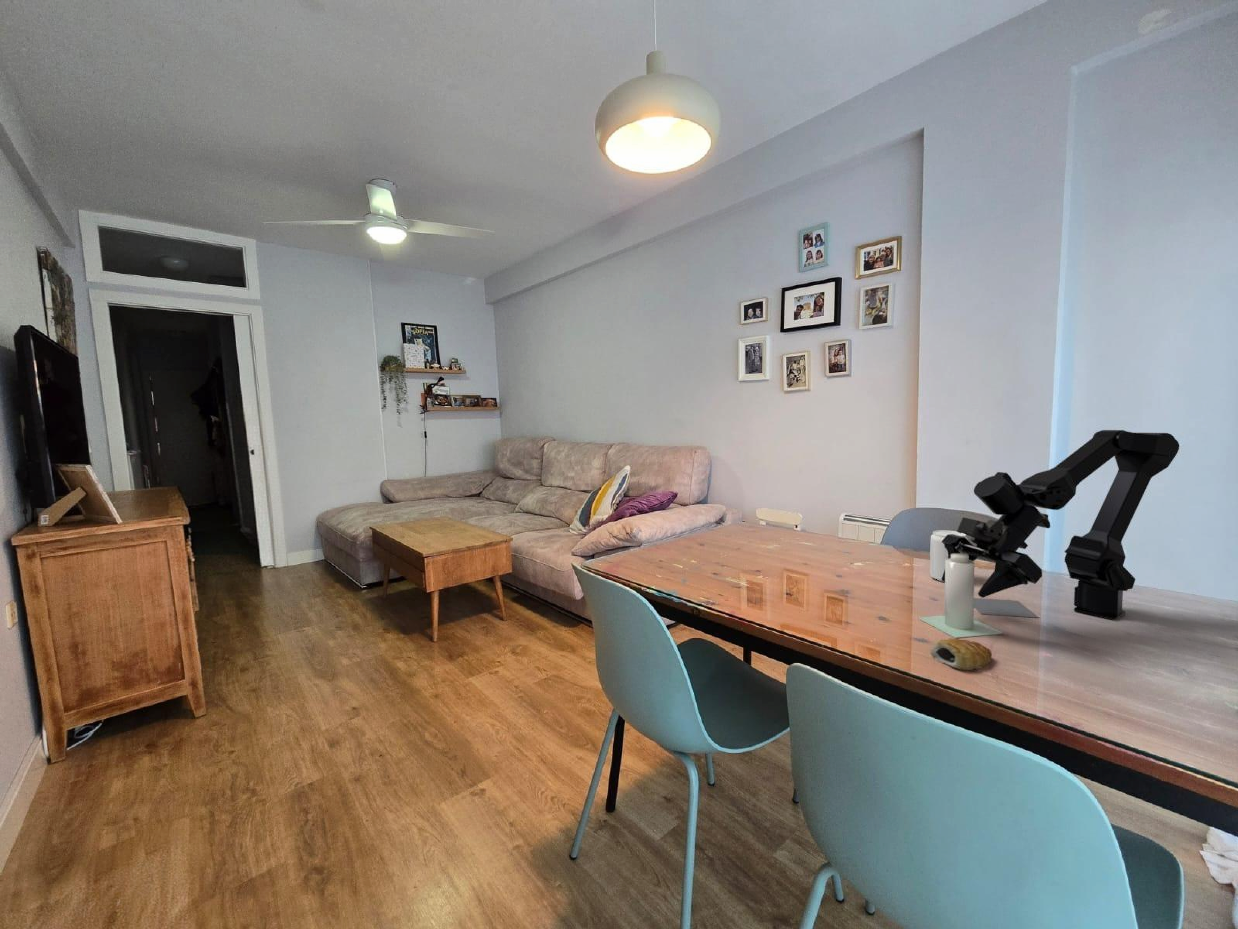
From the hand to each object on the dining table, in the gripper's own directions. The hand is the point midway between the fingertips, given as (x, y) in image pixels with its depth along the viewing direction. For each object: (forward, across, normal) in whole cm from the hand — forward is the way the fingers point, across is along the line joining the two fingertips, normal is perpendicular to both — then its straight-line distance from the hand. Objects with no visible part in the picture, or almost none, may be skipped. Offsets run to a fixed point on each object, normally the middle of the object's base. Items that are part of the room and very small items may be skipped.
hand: (960, 588), depth 101 cm
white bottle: (+6, 0, +5) cm, 8 cm away
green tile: (+6, 0, +5) cm, 8 cm away
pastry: (+14, +13, -2) cm, 19 cm away
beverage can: (-8, -26, +19) cm, 34 cm away
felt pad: (-5, -7, +16) cm, 18 cm away
